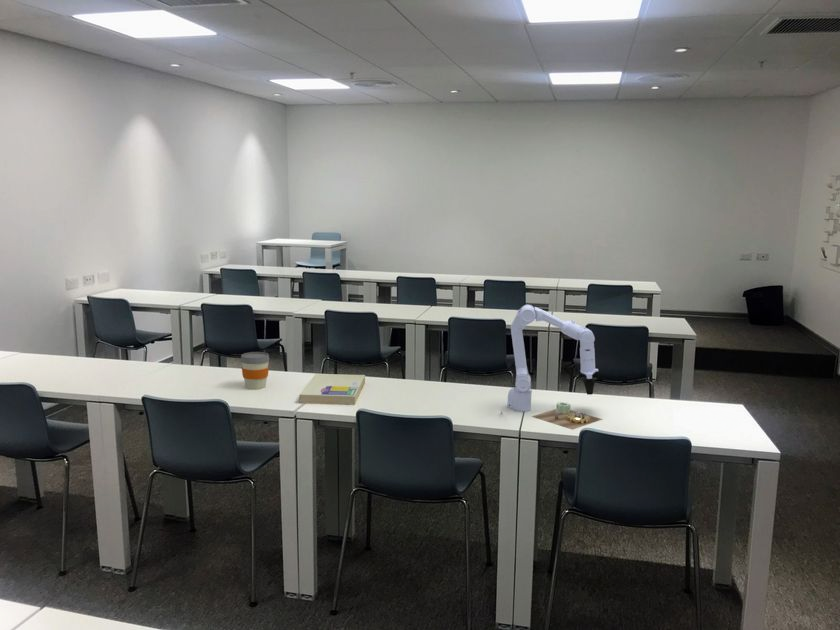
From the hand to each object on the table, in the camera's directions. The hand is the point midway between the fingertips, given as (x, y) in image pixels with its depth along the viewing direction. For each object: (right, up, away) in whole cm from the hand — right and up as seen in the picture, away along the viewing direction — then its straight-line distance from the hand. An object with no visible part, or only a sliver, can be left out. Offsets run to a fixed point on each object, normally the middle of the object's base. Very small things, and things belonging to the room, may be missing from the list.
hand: (589, 391), depth 276 cm
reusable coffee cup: (-144, -2, +34) cm, 148 cm away
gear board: (-10, -11, -5) cm, 16 cm away
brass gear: (-7, -10, -8) cm, 15 cm away
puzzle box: (-107, -4, +27) cm, 111 cm away
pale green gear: (-10, -9, +3) cm, 13 cm away
